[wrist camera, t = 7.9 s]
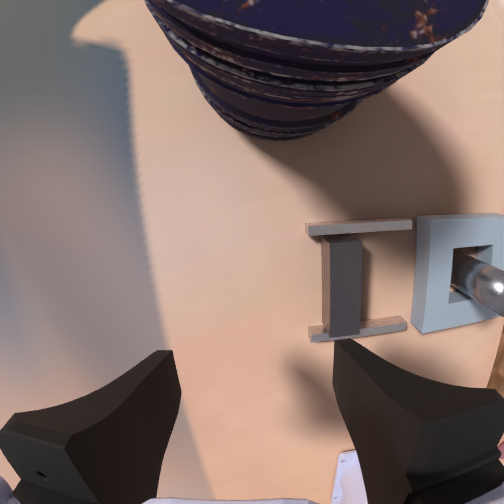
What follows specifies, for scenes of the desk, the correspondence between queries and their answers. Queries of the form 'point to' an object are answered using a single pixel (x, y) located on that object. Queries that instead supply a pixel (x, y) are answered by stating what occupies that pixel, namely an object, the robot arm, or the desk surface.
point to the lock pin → (479, 281)
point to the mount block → (498, 370)
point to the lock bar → (341, 284)
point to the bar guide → (357, 227)
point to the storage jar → (304, 54)
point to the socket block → (440, 267)
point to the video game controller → (502, 448)
